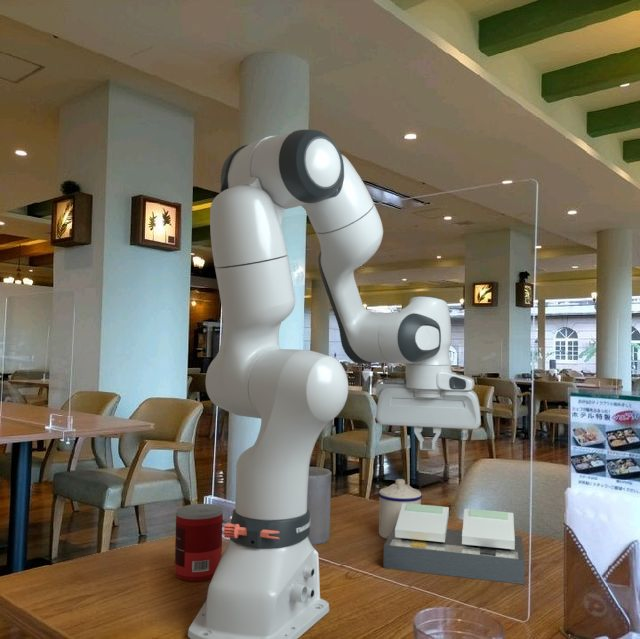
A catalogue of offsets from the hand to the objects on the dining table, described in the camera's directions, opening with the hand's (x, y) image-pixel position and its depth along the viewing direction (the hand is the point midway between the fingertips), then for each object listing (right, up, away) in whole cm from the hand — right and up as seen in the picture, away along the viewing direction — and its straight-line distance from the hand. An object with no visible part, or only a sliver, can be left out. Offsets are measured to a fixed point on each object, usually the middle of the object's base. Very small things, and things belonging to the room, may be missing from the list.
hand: (427, 450), depth 122 cm
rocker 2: (+10, -13, -7) cm, 18 cm away
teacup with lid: (-5, -20, +10) cm, 23 cm away
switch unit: (+4, -19, -7) cm, 21 cm away
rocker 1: (-2, -13, -4) cm, 14 cm away
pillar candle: (-24, -20, +6) cm, 31 cm away
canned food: (-42, -18, -15) cm, 48 cm away
